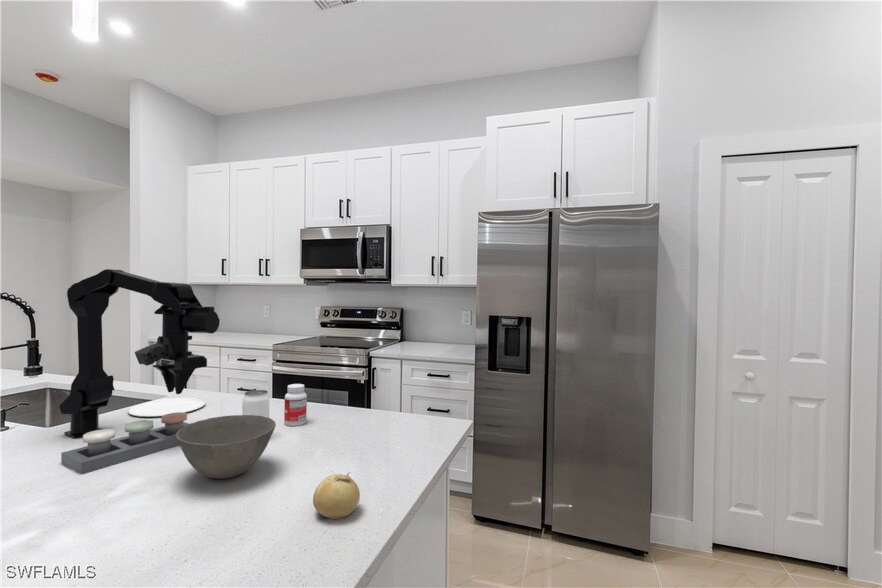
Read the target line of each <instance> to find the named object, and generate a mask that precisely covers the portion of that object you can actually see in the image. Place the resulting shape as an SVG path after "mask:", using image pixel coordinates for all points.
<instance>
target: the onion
mask: <svg viewBox="0 0 882 588" xmlns="http://www.w3.org/2000/svg"><path fill="white" fill-rule="evenodd" d="M350 473H351V471H349V472H347V473H346V474H343V473H342V474H341V473H338V474H337V473H333V474H331V475H328V476H327V477H325V478H324V479H322V480H321V481H320V482H319V484H318V485H317V486H316V488H315V491H314V492H313V495H312V496H313V497H312V498H313V499H312V503H313V507H314V509H315V511H316V512H317V514H318V515H320V517H325V518H327V519H331V520H332V519H335V520H336V519H340V518H344V517H348V516H349V515H350V514H351V513H353V511H354V510H355V509H356V508H357V506H358V504H359V502H360V497H361V495H360V494H361V493H360V489H359V487H358V484H357V483H356V482H355V480H354V479H353V478H352V477H350Z"/></svg>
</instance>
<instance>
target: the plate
mask: <svg viewBox="0 0 882 588" xmlns="http://www.w3.org/2000/svg"><path fill="white" fill-rule="evenodd" d="M205 405H206V401H204V399H203V400H202V399H200V398H192V397H175V398H164V399H157V400H151V401H146V402H142V403H139V404H137V405H135V406H134V405H133V407H131V408H129V409H128V411H127V413H128V415H130V416H133V417H138V418H161V417H162V416H163V415H166V414H170V413H177V412H183V413H187V414H188V413H191V412H194V411H198V410H200V409H202V408H203V407H204V406H205Z"/></svg>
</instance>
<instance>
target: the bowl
mask: <svg viewBox="0 0 882 588" xmlns="http://www.w3.org/2000/svg"><path fill="white" fill-rule="evenodd" d="M276 426H277V422H275V420H273V419H272V418H270V417H269V418H268V417H263V416H257V415H242V414H235V415H223V416H216V417H209V418H206V419H203V420H197V421H195V422H191V423H189V425H186V426H184V427H182V428H181V429H179V430H178V431H177V433H176V439H177V441H178V443H179V445H178V446H179V447H180V449H181V450H182V452H183V454H184V455H183V456H185V457H184V458H186V460H187V462H188V463H189V464H190V465H191V467H192V468H193V469H194V470H195V471H196V472H197V473H199V474H201V475H202V476H204V477H206V478H211V479H217V480H219V479H221V480H222V479H223V480H224V479H231V478H234V477H236V476H237V477H238V476H239V475H241V474H243V473H244V472H246V471H248V470H249V469H251V468H252V467H253V465H255V464H256V462H257V461H258V460H259V459H260V457H262V455H263V453H264V452H265V450H266V448H267V446H268V444H269V442H270V440H271V438H272V435H273V433H274V431H275V428H276Z"/></svg>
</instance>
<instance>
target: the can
mask: <svg viewBox="0 0 882 588" xmlns="http://www.w3.org/2000/svg"><path fill="white" fill-rule="evenodd" d="M268 392H269V391H268V390H266V389H254V390H248V391H245V392H244V395H243V398H242V406H241V407H242V408H241V409H242V410H241V412H242V414H241V415H257V416H263V417H268V418H270V396H269V394H268Z"/></svg>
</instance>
